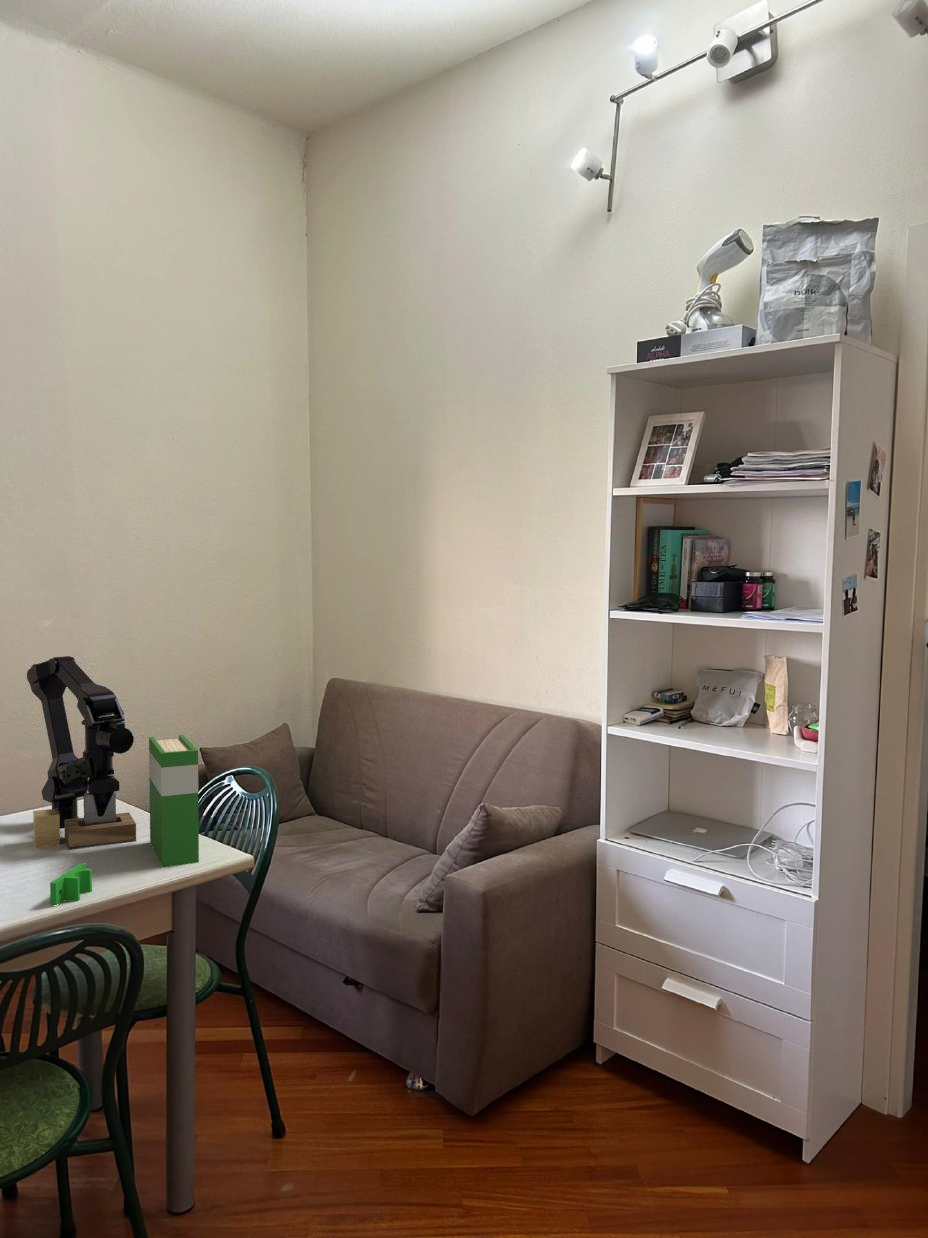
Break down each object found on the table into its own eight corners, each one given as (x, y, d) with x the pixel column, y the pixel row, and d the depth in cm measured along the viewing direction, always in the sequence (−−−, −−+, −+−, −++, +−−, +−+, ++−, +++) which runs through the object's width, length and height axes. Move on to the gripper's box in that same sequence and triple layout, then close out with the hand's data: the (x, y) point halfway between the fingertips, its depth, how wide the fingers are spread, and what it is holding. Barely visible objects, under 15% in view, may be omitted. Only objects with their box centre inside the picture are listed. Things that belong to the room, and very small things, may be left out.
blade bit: (84, 823, 211) (83, 793, 211) (114, 820, 214) (114, 790, 214) (85, 826, 209) (84, 796, 208) (116, 823, 212) (115, 792, 211)
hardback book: (150, 842, 210) (149, 737, 208) (184, 838, 213) (183, 734, 211) (162, 867, 194) (161, 753, 192) (198, 862, 197) (198, 750, 195)
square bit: (33, 841, 209) (33, 811, 209) (57, 838, 212) (57, 808, 211) (35, 848, 205) (34, 816, 204) (59, 845, 207) (59, 814, 207)
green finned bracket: (69, 908, 172) (69, 884, 172) (50, 907, 172) (49, 883, 172) (99, 886, 183) (99, 863, 183) (81, 885, 183) (81, 862, 183)
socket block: (64, 837, 213) (64, 819, 213) (129, 829, 219) (129, 812, 219) (69, 849, 204) (68, 831, 204) (136, 841, 211) (136, 823, 210)
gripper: (56, 741, 215) (57, 808, 216) (64, 758, 198) (65, 830, 199) (107, 737, 220) (108, 802, 221) (119, 753, 203) (120, 824, 205)
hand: (99, 814), depth 211 cm, fingers closed on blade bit, 2 cm apart
